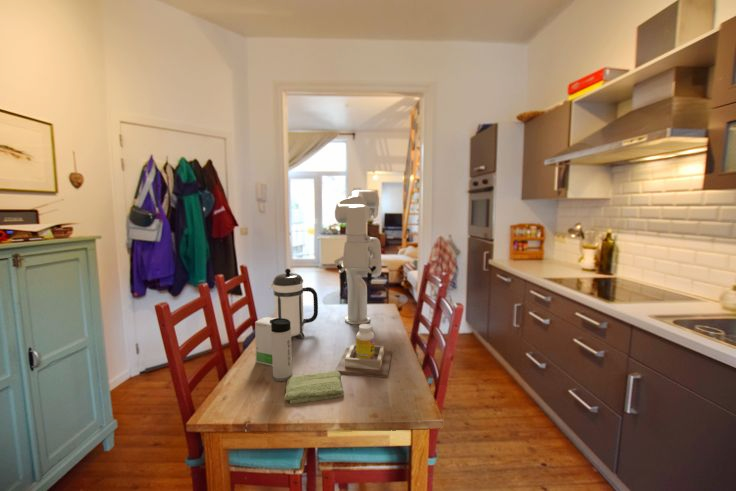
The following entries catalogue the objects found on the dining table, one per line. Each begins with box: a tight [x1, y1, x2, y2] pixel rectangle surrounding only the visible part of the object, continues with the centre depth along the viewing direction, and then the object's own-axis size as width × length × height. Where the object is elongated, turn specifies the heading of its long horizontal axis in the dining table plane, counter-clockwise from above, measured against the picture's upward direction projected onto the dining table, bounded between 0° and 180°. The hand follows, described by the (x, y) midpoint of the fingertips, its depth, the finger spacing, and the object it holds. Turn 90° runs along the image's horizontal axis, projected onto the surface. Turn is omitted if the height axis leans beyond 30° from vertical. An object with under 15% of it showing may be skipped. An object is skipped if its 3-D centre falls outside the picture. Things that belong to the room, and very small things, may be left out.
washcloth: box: [284, 370, 345, 405], centre depth 102 cm, size 13×18×3 cm
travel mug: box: [270, 318, 293, 382], centre depth 108 cm, size 6×7×20 cm
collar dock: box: [334, 343, 393, 378], centre depth 119 cm, size 18×18×4 cm
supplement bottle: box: [355, 323, 375, 359], centre depth 118 cm, size 7×7×13 cm
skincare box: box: [254, 316, 276, 367], centre depth 119 cm, size 8×7×16 cm
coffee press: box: [269, 268, 319, 339], centre depth 142 cm, size 17×16×30 cm
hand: (356, 281), depth 127 cm, fingers open, 9 cm apart
